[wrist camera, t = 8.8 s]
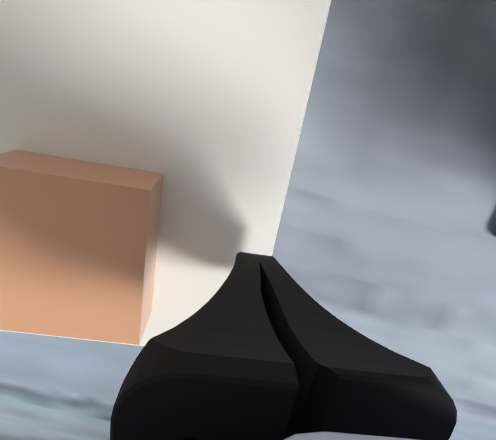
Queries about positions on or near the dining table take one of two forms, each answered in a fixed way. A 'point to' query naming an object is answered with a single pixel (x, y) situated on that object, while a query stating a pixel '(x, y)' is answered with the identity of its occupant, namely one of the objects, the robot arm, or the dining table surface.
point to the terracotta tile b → (77, 247)
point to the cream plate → (170, 115)
